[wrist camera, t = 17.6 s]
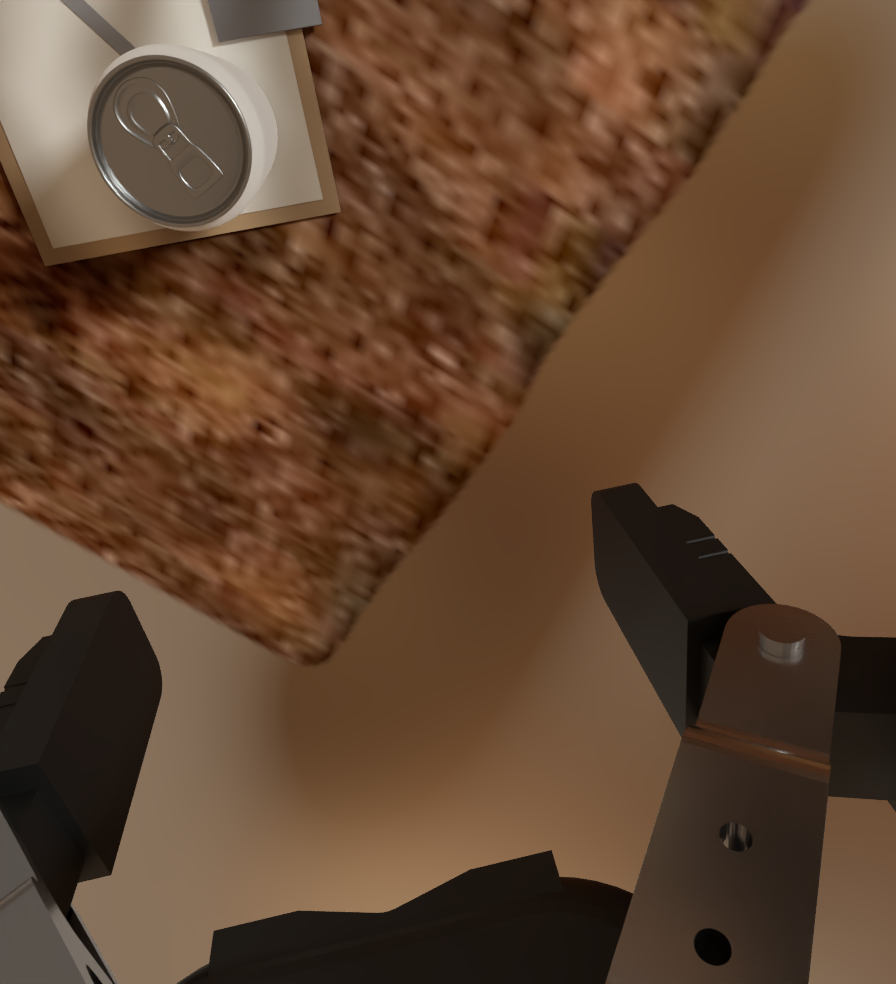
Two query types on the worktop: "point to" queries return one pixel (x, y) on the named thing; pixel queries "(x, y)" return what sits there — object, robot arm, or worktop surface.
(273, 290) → the worktop surface
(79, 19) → the clipboard
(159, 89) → the can
